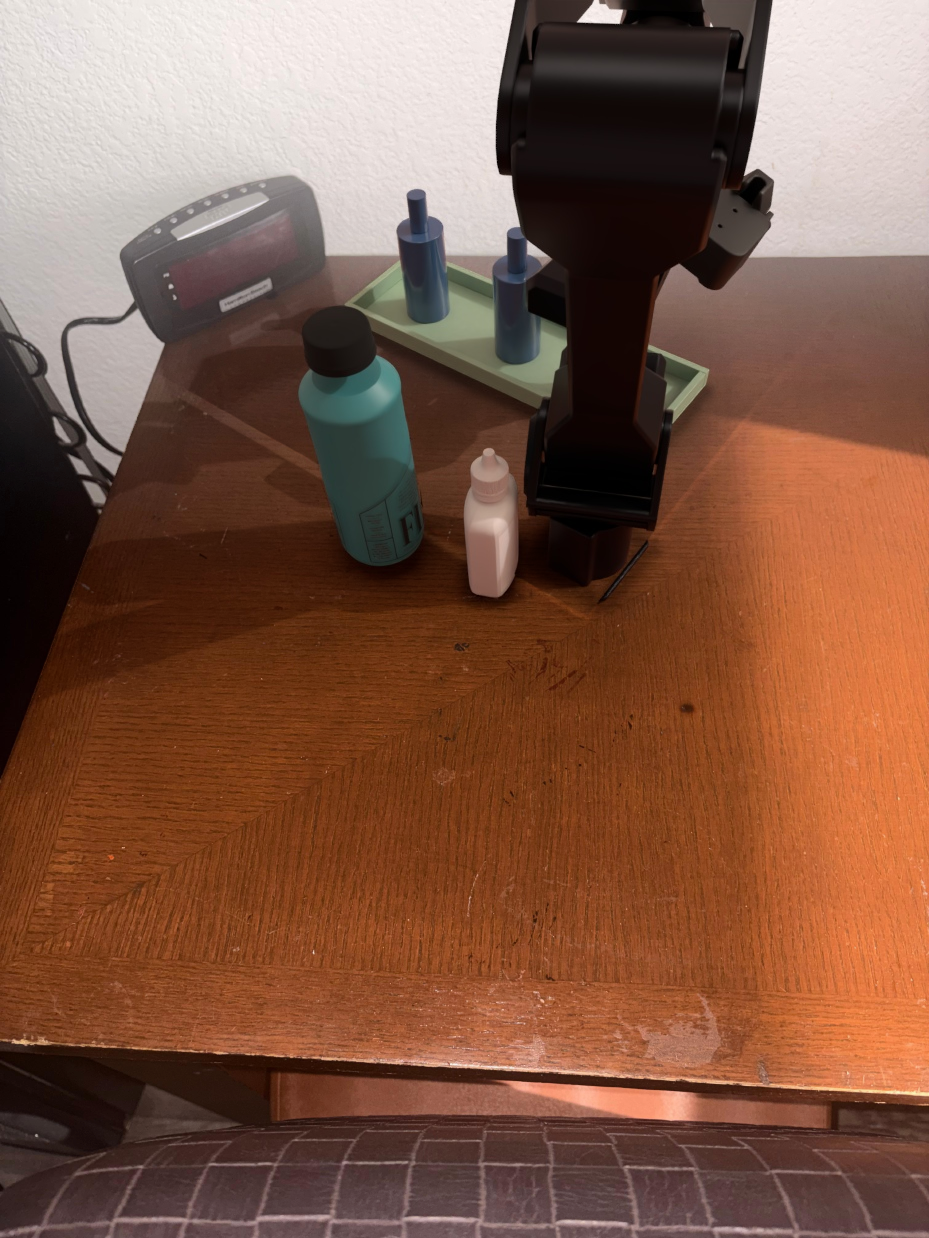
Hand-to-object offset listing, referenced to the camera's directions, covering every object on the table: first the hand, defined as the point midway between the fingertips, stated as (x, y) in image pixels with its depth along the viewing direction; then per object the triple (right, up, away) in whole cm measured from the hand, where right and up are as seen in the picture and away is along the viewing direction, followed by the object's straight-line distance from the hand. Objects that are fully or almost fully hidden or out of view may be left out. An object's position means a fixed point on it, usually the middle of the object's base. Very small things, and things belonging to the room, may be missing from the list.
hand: (622, 339), depth 66 cm
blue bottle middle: (-8, +2, +8) cm, 12 cm away
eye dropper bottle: (-10, -18, -3) cm, 21 cm away
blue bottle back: (-16, +7, +12) cm, 21 cm away
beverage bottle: (-18, -16, -2) cm, 25 cm away
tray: (-8, +1, +9) cm, 12 cm away
